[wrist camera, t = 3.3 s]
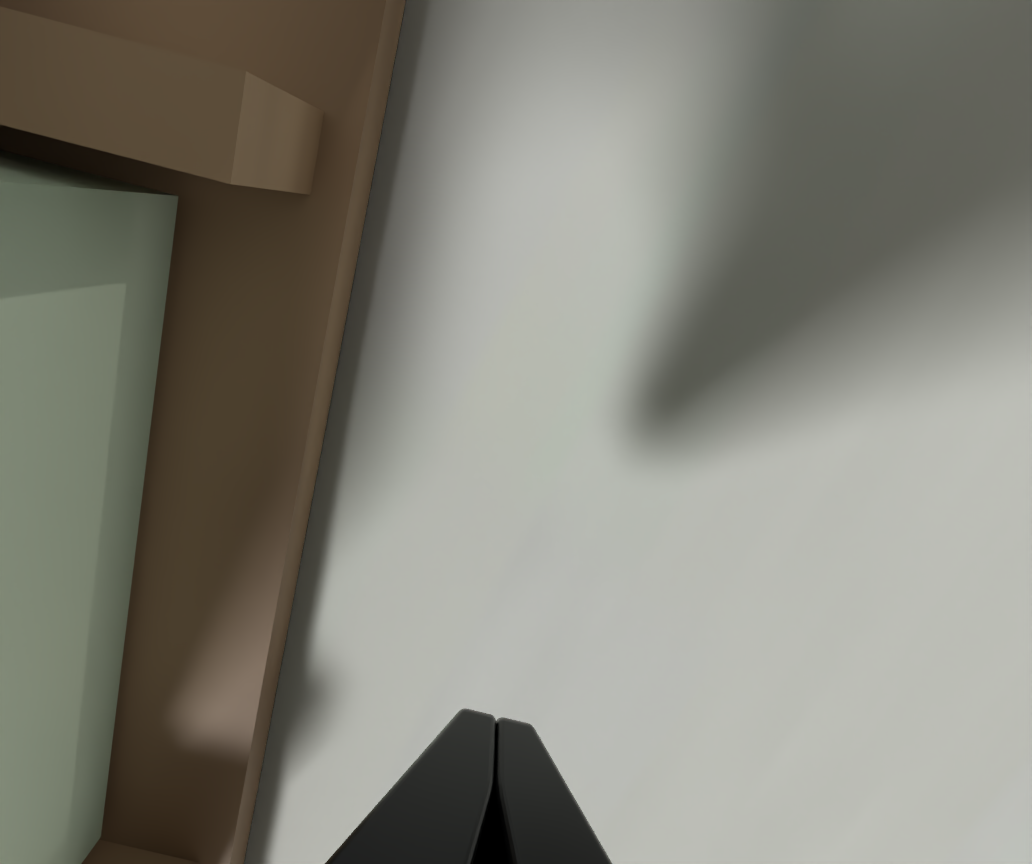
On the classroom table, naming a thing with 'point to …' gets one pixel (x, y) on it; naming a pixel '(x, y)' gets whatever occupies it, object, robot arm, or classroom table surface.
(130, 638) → the wooden serving tray
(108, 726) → the sage green bevelled box
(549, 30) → the classroom table surface
